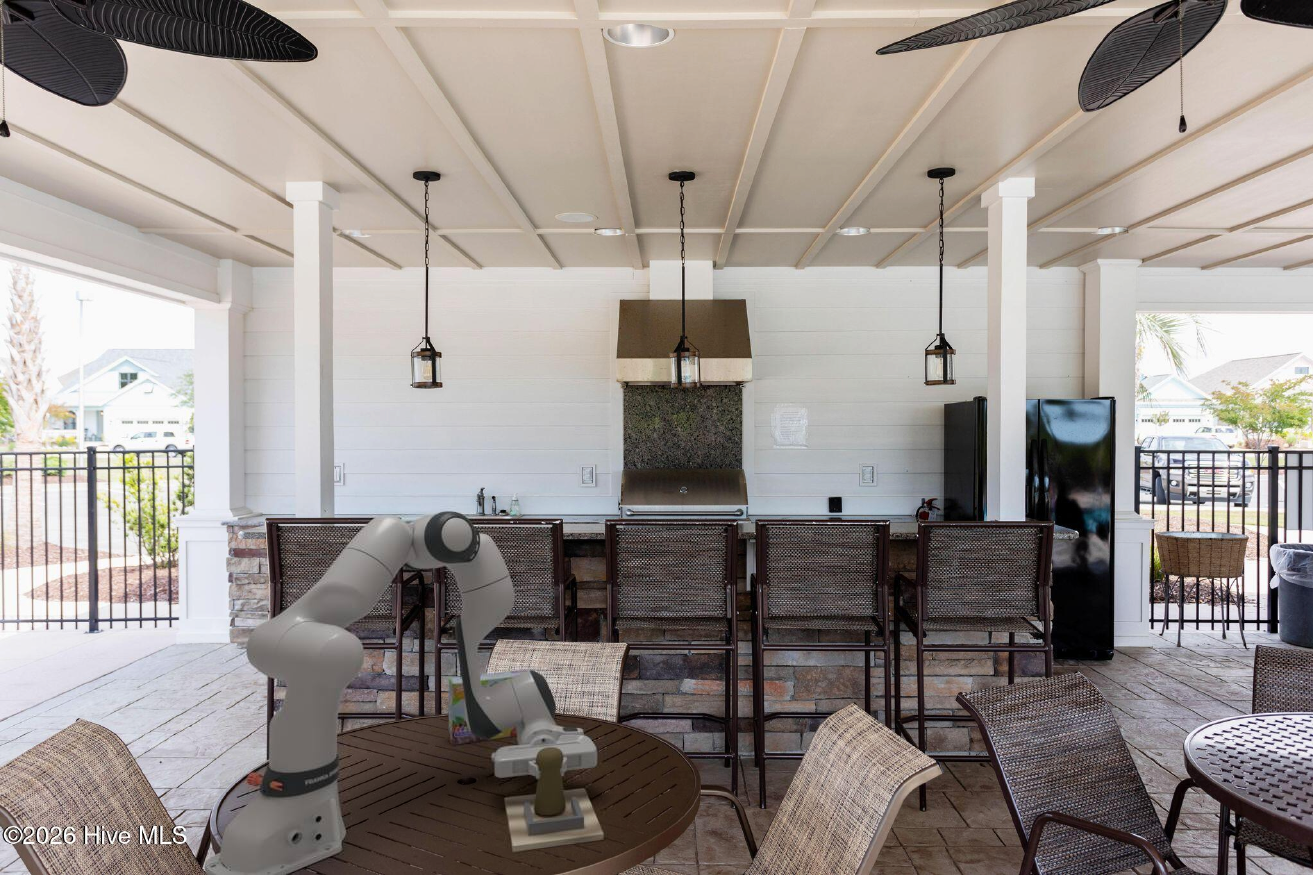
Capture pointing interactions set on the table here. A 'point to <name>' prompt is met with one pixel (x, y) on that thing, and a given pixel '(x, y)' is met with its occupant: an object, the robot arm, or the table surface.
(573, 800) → the frame
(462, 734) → the snack box
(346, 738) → the table surface
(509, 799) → the board
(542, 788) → the olive pawn
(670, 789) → the table surface
